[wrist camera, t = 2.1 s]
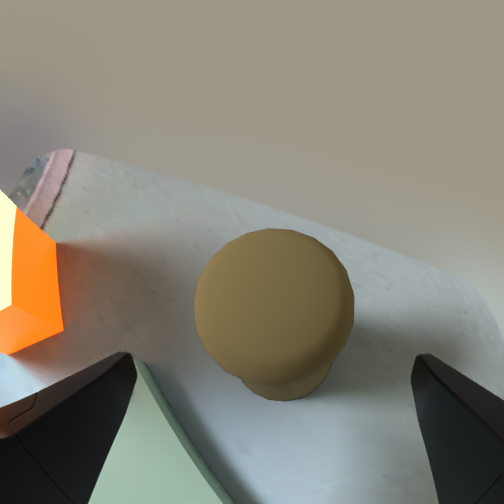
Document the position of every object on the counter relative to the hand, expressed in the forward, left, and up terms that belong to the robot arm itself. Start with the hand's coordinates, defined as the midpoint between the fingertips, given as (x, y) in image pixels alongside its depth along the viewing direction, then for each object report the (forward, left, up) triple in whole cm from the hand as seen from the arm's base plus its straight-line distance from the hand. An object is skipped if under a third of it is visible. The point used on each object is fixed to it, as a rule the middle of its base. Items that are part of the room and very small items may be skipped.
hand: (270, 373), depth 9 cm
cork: (+2, -1, -10) cm, 10 cm away
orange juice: (+17, +15, -10) cm, 24 cm away
